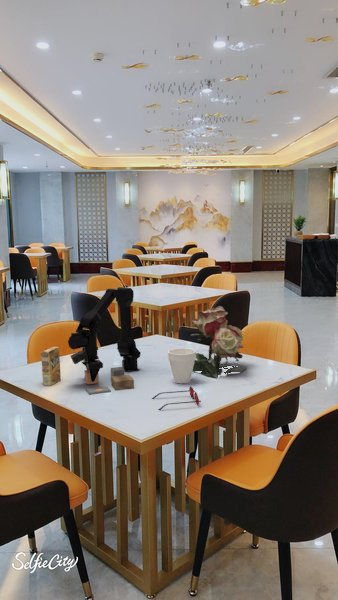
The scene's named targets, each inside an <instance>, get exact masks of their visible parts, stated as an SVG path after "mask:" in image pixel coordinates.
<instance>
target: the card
mask: <svg viewBox="0 0 338 600" xmlns="http://www.w3.org/2000/svg"><path fill="white" fill-rule="evenodd" d="M85 391H86V392H87V393H88V395H89V396H90V395H98V394H105V393H111V392H112V391H111V388H110V387H109V386H108V385H104V386H96V387H88V388H85Z"/></svg>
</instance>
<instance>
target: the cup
mask: <svg viewBox="0 0 338 600" xmlns="http://www.w3.org/2000/svg"><path fill="white" fill-rule="evenodd" d="M196 353H197V351H196V350H195V349H193V348H189V347H177V348H176V347H175V348H172V349H169V350H167V358H168V361H169V366H170V369H171V373H172V378H173V381H175V382H176V383H175V382H174V383H175V384H177V383H187V384H189V383H191V379H192V375H193V372H192V371H193V366H194V362H195V360H197V359H196ZM188 382H189V383H188Z"/></svg>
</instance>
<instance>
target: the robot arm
mask: <svg viewBox="0 0 338 600" xmlns="http://www.w3.org/2000/svg"><path fill="white" fill-rule="evenodd" d="M134 298H135V297H134V290H133V289H132V288H131V287H125V286H122V287H121V286H120V287H119V286H118V287H117V288H107V289H106V290H105V293H104V294H103V295H102V296H101V298H100V299H99V301H98V302H97V304H96V305H94V307H93V308H92V309H91V310H90V311H88V312H86V313H85V314H84V315H83V316H82V317H81V318H80V321H79V323H78V325H77V327H76V330H75V332H72V333H71V334H70V336H69V338H68V340H67V344H68V347H69V348H70V349H71V350H78V349H81V350H80V351H77V352H74V353H73V354H70V358H71V360H72V364H74V365H77V364H79V363H80V362H81V364H82V365H84V366H85V370H89V371H90V376H91V380H92V382H94V381H95V379H96V376H97V374H98V375H99V371H100V370H101V369H103V368H104V363H103V362H102V361H101V360H100V359H99V356H98V351H99V347H98V334H101V331H100V330H99V329H98V328H99V326H100V324H101V323H102V317H103V315H104V314H105V313H106V312H107V309H109V307H110V306H111V305H112V303H113V302H114V301H115V302H116V303H117V305H118V306H119V317H120V319H119V320H120V322H119V323H120V338H119V340H117V341H116V344H117V348H116V349H117V352H118V354H119V356H120V357H122V360H121V367H122V368H123V369H124V371H125V372H126V373H127V372H134V371H135V372H136V371H139V370H140V369H139V368H138V359H139V358H140V357H141V354H142V352H141V351H140V350H139V349H138V348H137V344H136V343H137V342H136V341H135V339H134V338H133V334H132V332H133V331H132V314H131V313H132V311H131V310H132V309H131V305H132V304H133V302H134Z"/></svg>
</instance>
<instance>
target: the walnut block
mask: <svg viewBox="0 0 338 600" xmlns="http://www.w3.org/2000/svg"><path fill="white" fill-rule="evenodd" d="M110 380H111V387H112V388H113V389H114V390H115V391H121V390H122V391H123V390H131V389H135V379H134V378H133V377H132V376H131V375H130V374H126V375H122V376H112V377H111V376H110Z"/></svg>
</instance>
